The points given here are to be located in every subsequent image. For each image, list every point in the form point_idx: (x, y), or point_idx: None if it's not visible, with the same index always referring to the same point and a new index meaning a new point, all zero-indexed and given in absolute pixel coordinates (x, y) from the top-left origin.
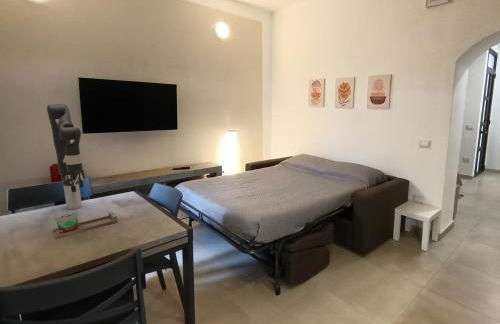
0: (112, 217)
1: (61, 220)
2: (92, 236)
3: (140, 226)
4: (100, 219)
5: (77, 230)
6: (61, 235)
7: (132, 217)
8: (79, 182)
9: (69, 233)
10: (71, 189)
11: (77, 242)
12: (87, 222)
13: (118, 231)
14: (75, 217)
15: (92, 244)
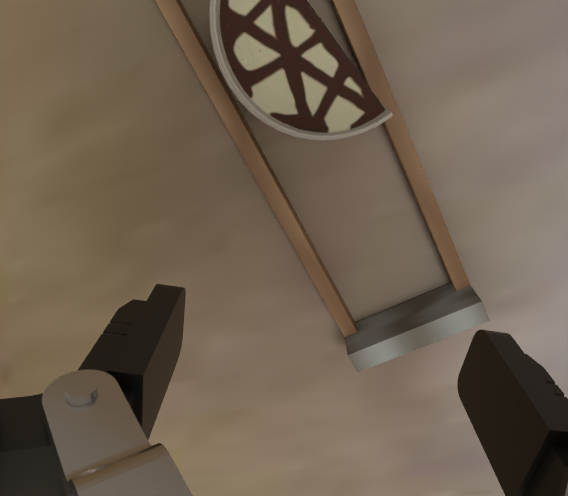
0: (372, 337)
1: (209, 13)
2: (156, 246)
3: (252, 458)
4: (431, 234)
5: (230, 134)
6: (171, 27)
7: (405, 409)
8: (526, 426)
9: (202, 81)
10: (105, 329)
11: (77, 179)
12: (397, 155)
13: (206, 370)
14: (277, 130)
15: (47, 274)
